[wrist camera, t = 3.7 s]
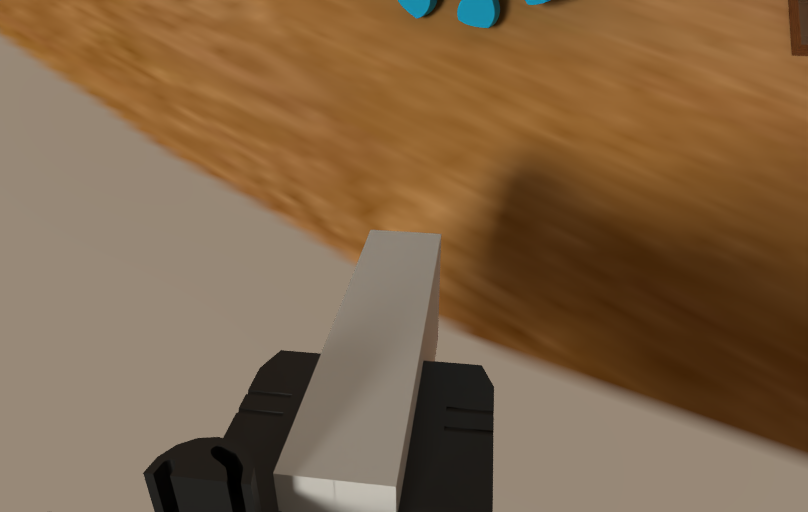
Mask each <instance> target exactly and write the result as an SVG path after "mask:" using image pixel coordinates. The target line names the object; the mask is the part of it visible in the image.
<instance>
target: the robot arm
mask: <svg viewBox="0 0 808 512" xmlns="http://www.w3.org/2000/svg"><path fill="white" fill-rule="evenodd" d="M440 253H441V234H432V233H415V232H399V231H382V230H370V233H369V235H368V238H367V240H366V243H365V245H364V248H363V250H362V253H361V255H360V258H359V260H358V263H357V265H356V268H355V270H354V273H353V275H352V278H351V280H350V283H349V285H348V288H347V290H346V293H345V295H344V298H343V300H342V303H341V305H340V308H339V310H338V313H337V315H336V318H335V320H334V323H333V326H332V328H331V330H330V333H329V336H328V338H327V340H326V343H325V345H324V348H323V350H322V353H321V354H317V353H306V352H294V351H282V350H281V351H280V352H279V353H277V354H276V355H275V356H274V357H272V358H271V359H270V360H269V361H268V362H266V363H265V364H264V365H263V366H262V367H261V368H260V369H259V371H258V372H257V374H256V376H255V378H254V380H253V382H252V384H251V386H250V388H249V390H248V395H247V394H246V395H245V397H244V399H243V401H242V403H241V405H240V407H239V412H238V413H236V415H235V417H234V418H233V421H232V422H231V424H230V426H229V428H228V430H227V432H226V434H225V436H224V438H220V437H211V438H197V439H194V440H191V441H188V442H184V443H181V444H178V445H176V446H174V447H173V448H171V449H170V450H168V451H166V452H165V453H163V454H162V455H160V456H158V457H157V458H156V459H155V460H154V462H153V463H152V464H151V465H150V466H149V467H148V468H147V469H146V471H145V472H144V473H143V474H144V476H145V480H146V484H147V487H148V490H149V494H150V497H151V501H152V504H153V507H154V511H155V512H492V504H493V502H492V501H493V411H494V386H493V385H492V383H491V381H490V379H489V378H488V376H487V374H486V372H485V370H484V369H483V367H482V366H481V365H469V364H459V363H458V364H457V363H445V362H435V354H436V348H437V340H438V315H439V284H440Z"/></svg>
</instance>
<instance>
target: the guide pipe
mask: <svg viewBox="0 0 808 512" xmlns="http://www.w3.org/2000/svg"><path fill="white" fill-rule="evenodd" d="M788 2H789V17H790V31H791V46H792V55H798V56H808V0H788Z"/></svg>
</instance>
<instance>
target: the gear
mask: <svg viewBox="0 0 808 512" xmlns="http://www.w3.org/2000/svg"><path fill="white" fill-rule="evenodd" d="M525 1H526V2H527V4H528V5H537V4H541V3H545V2H547V1H550V0H525ZM398 2H399V3H400V4H401V5H402V7H403V8H404V9H405V10H407V11H408V12H409V13H410V14H411V15H413V16H414V17H415V18H420V17H422V16H425V15H427V14H429V13H430V12H432V10H433V9H434V8H435V6H436V3H437V0H398ZM499 14H500V5H499V1H498V0H461V2H460V4H459V6H458V11H457V16H458V20H459V21H461V22H463V23H465V24H467V25H470V26H475V27H482V28H489V27H491V26H493V25H494V24H495V23H496V21H497V20H498V18H499Z"/></svg>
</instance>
